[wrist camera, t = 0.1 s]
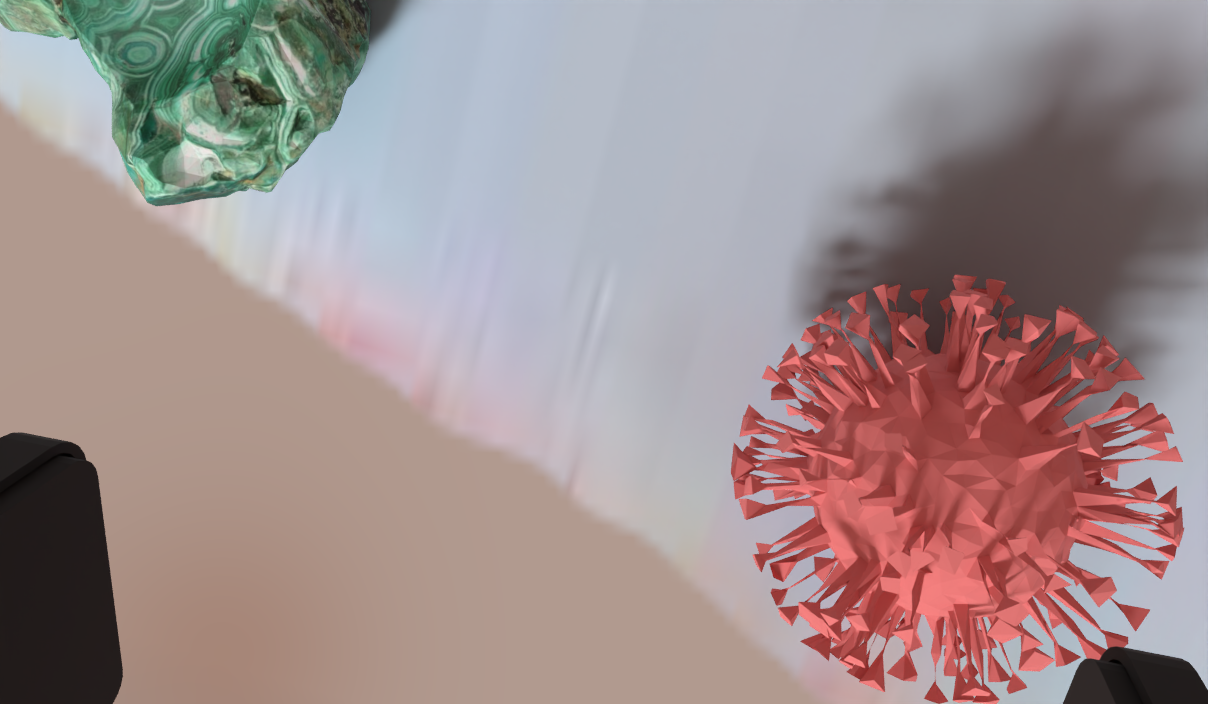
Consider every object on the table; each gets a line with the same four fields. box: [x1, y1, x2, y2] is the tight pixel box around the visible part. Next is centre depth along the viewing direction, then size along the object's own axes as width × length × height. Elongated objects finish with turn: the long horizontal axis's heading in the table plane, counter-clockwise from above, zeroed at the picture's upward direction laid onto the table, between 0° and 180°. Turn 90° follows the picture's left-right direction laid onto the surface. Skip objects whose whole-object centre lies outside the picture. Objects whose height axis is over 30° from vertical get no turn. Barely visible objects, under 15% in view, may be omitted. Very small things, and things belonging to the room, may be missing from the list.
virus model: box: [731, 275, 1184, 704], centre depth 33 cm, size 15×15×15 cm
